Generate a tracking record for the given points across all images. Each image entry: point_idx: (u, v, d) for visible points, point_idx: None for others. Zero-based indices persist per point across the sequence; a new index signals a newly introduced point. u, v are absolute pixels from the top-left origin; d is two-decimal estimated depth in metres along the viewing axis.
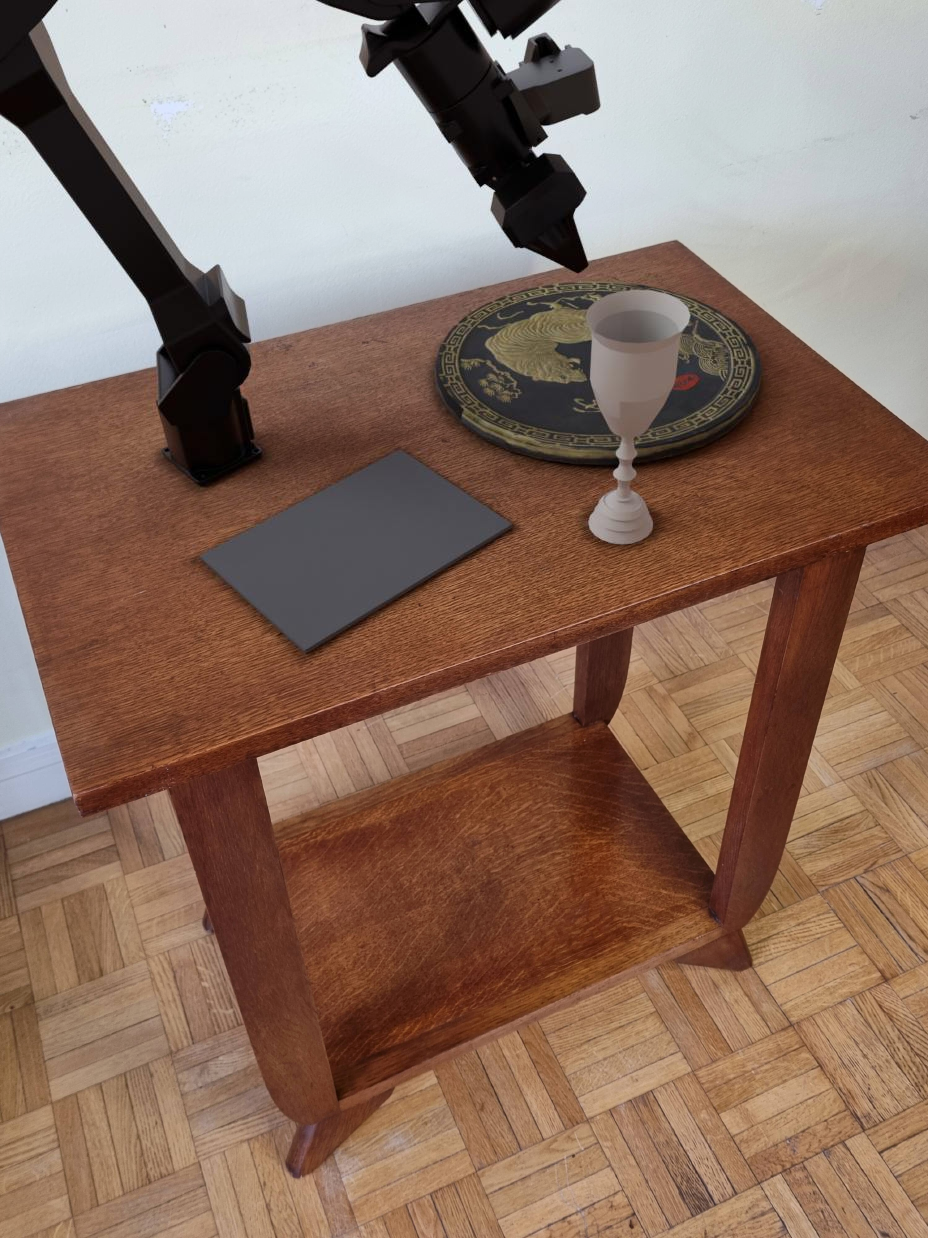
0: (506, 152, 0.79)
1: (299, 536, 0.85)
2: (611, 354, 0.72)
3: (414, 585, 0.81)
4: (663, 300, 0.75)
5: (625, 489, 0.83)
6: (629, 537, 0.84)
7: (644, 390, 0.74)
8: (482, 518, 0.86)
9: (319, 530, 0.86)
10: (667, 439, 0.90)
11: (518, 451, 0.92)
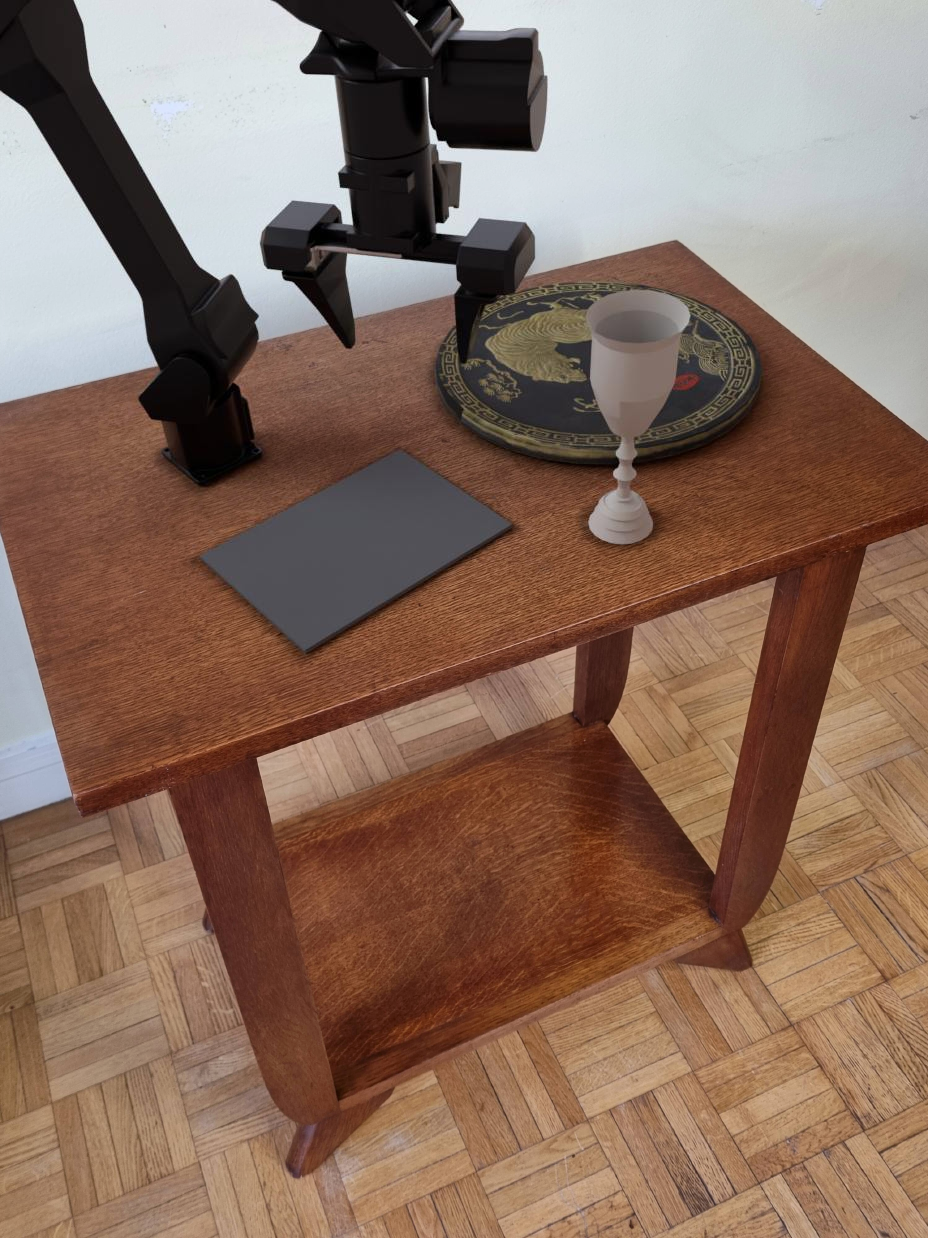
0: (433, 220, 0.74)
1: (299, 536, 0.85)
2: (611, 354, 0.72)
3: (414, 585, 0.81)
4: (663, 300, 0.75)
5: (625, 489, 0.83)
6: (629, 537, 0.84)
7: (644, 390, 0.74)
8: (482, 518, 0.86)
9: (319, 530, 0.86)
10: (667, 438, 0.90)
11: (518, 451, 0.92)
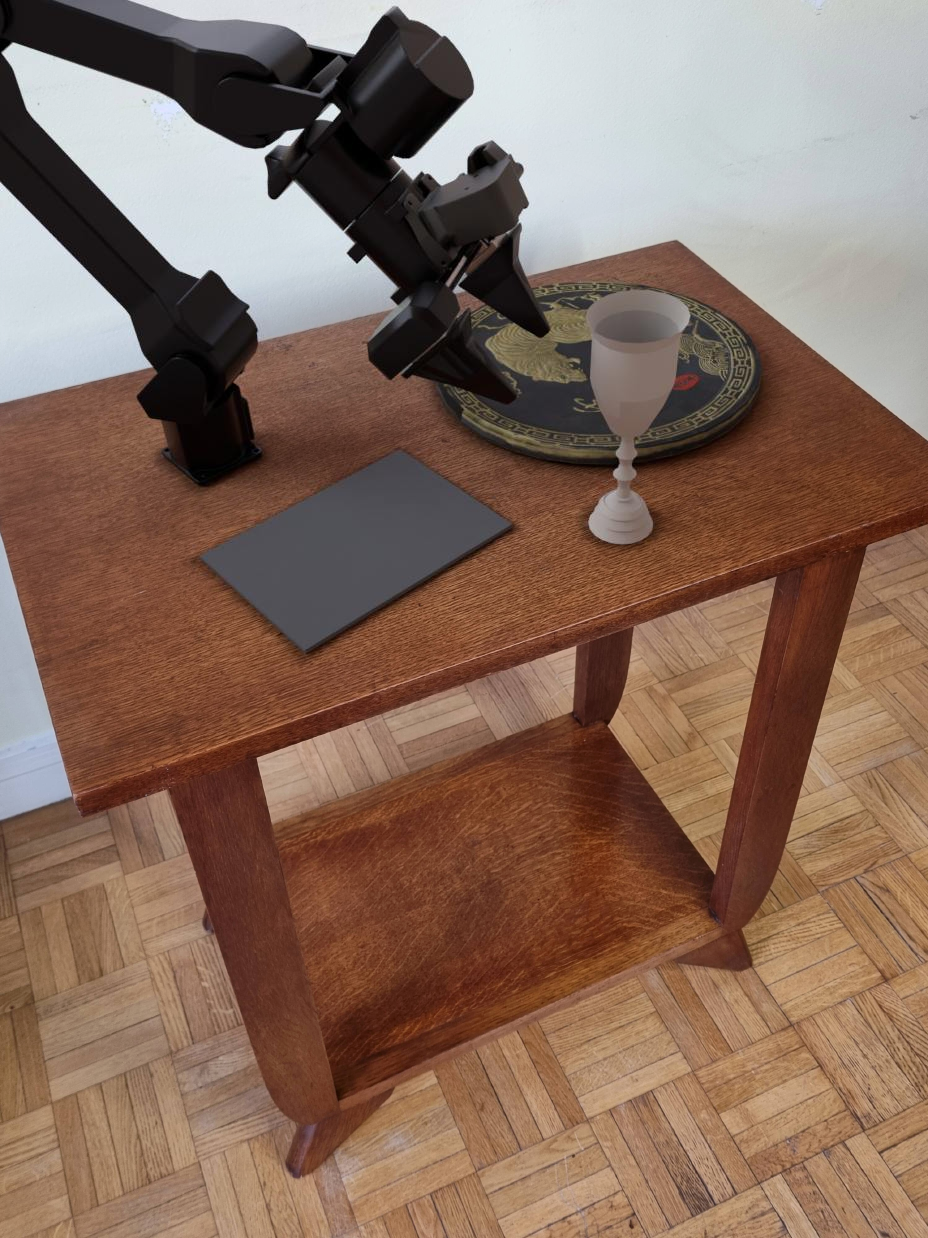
0: (413, 274, 0.73)
1: (299, 536, 0.85)
2: (611, 354, 0.72)
3: (414, 585, 0.81)
4: (663, 300, 0.75)
5: (625, 489, 0.83)
6: (629, 537, 0.84)
7: (644, 390, 0.74)
8: (482, 518, 0.86)
9: (319, 530, 0.86)
10: (667, 438, 0.90)
11: (518, 451, 0.92)
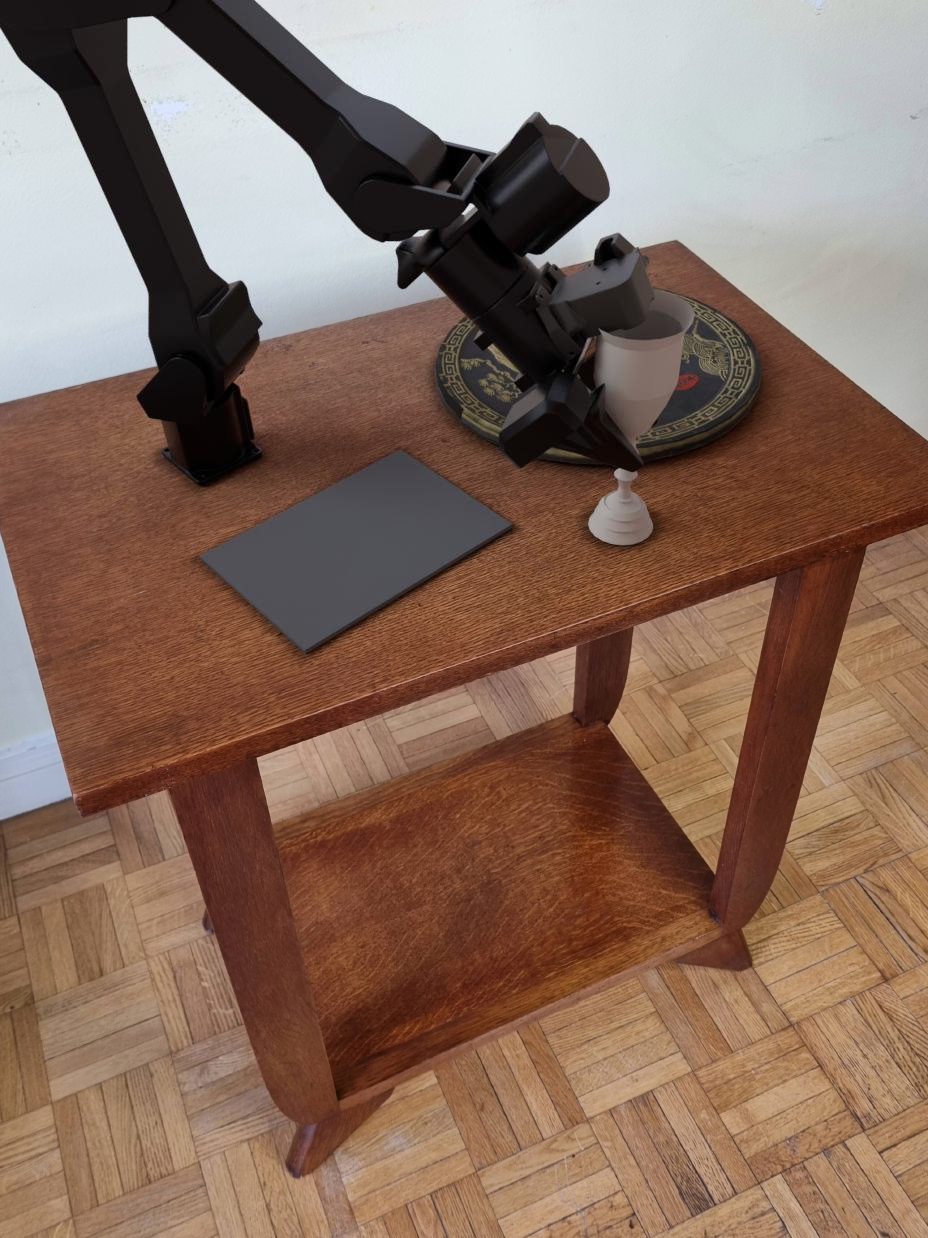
0: (540, 363, 0.75)
1: (299, 536, 0.85)
2: (616, 352, 0.72)
3: (414, 585, 0.81)
4: (666, 299, 0.75)
5: (626, 490, 0.83)
6: (630, 538, 0.84)
7: (649, 388, 0.74)
8: (482, 518, 0.86)
9: (319, 530, 0.86)
10: (667, 438, 0.90)
11: None
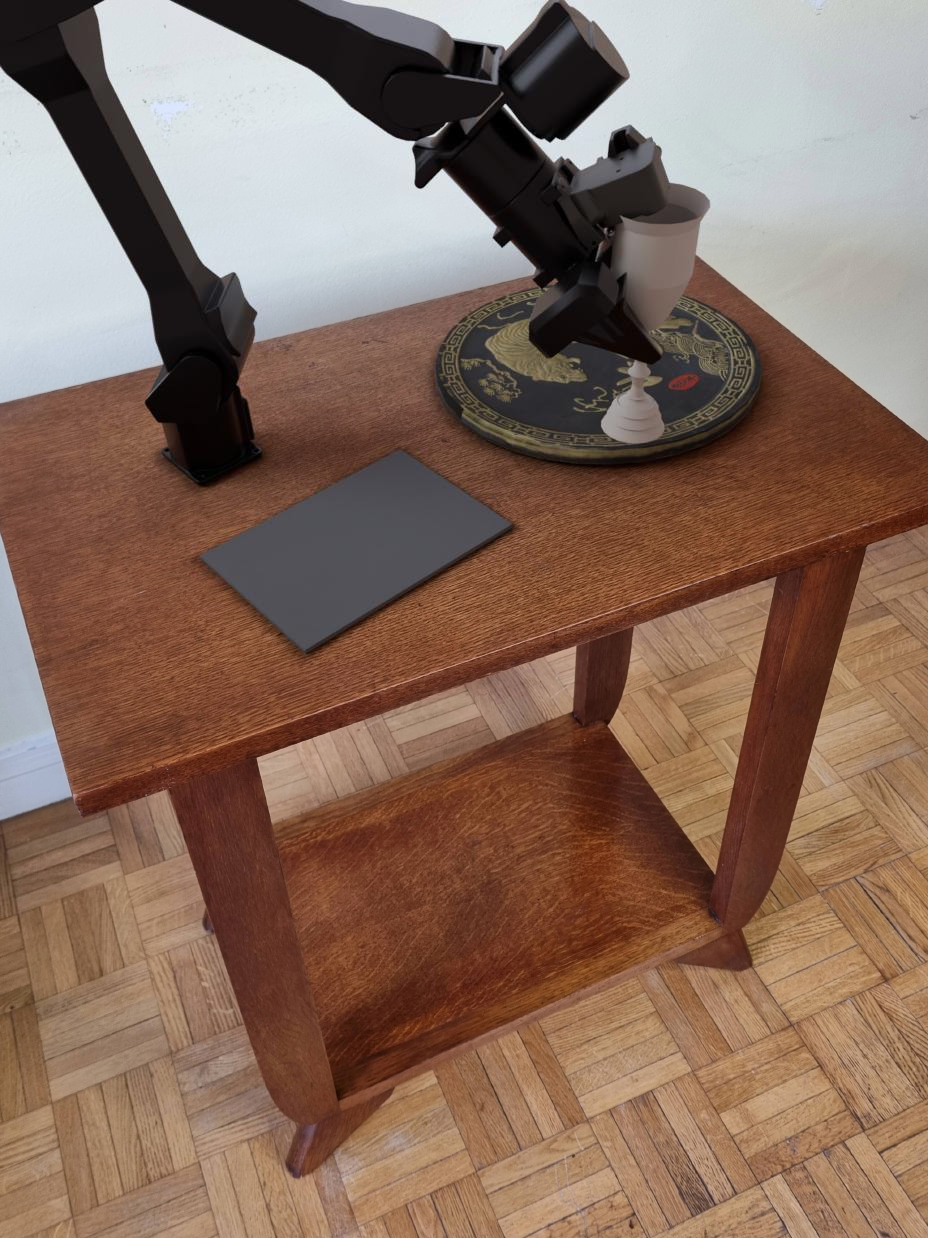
0: (561, 256, 0.76)
1: (299, 536, 0.85)
2: (638, 239, 0.74)
3: (414, 585, 0.81)
4: (677, 190, 0.77)
5: (639, 388, 0.84)
6: (645, 436, 0.85)
7: (669, 275, 0.75)
8: (482, 518, 0.86)
9: (319, 530, 0.86)
10: (667, 438, 0.90)
11: (518, 451, 0.92)
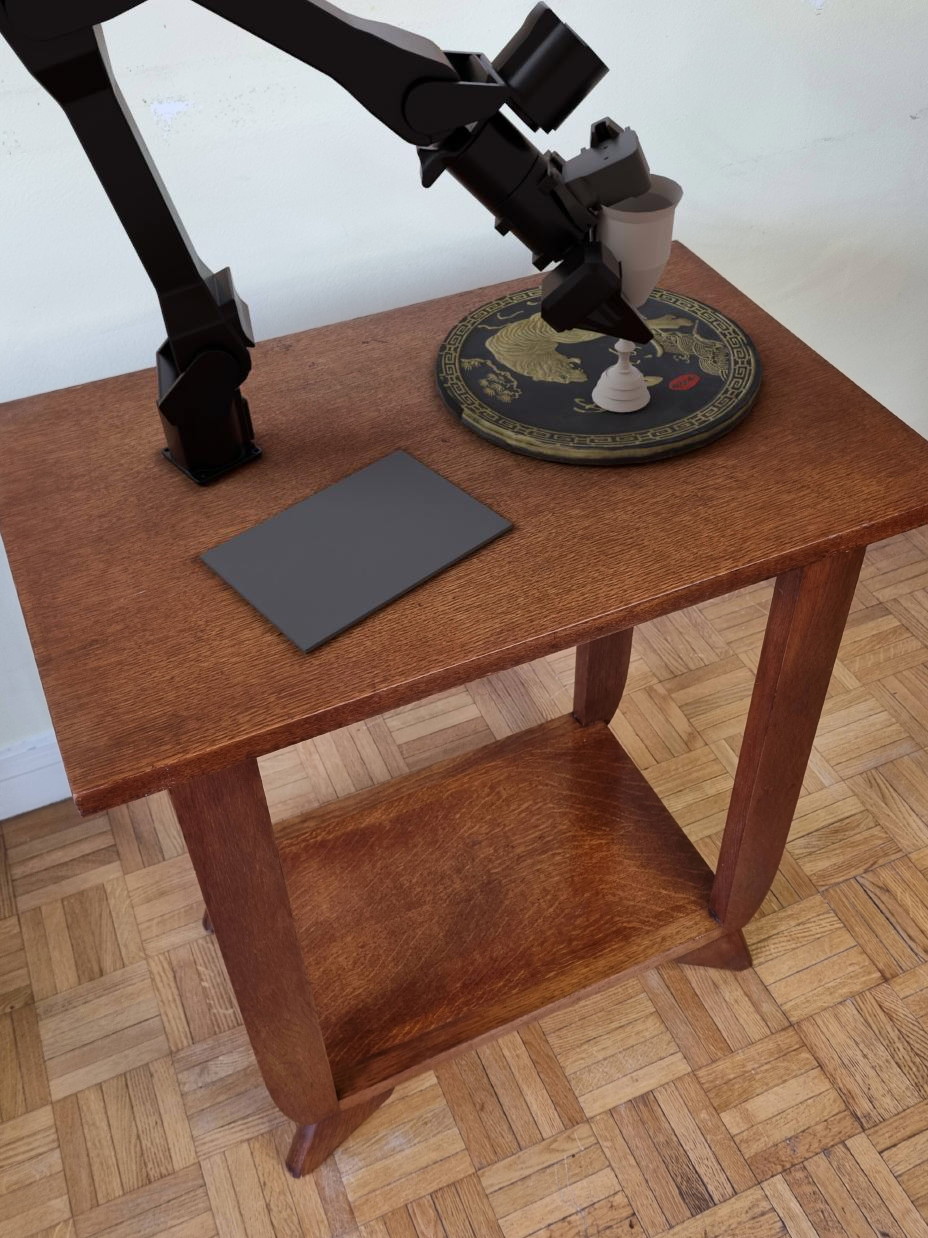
0: (558, 239, 0.83)
1: (299, 536, 0.85)
2: (624, 227, 0.82)
3: (414, 585, 0.81)
4: None
5: (626, 361, 0.92)
6: (635, 404, 0.93)
7: (652, 257, 0.83)
8: (482, 518, 0.86)
9: (319, 530, 0.86)
10: (667, 439, 0.90)
11: (518, 451, 0.92)
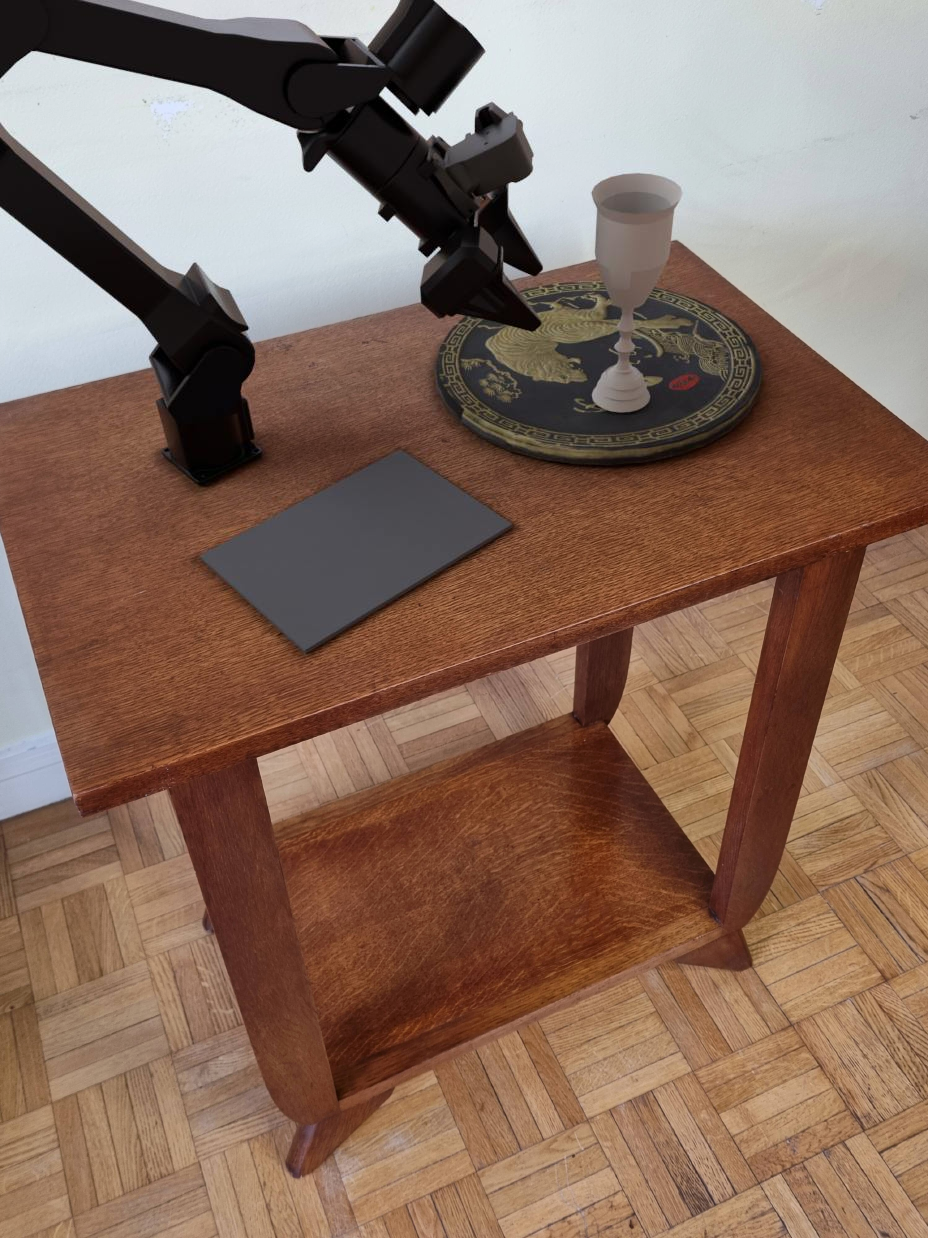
0: (442, 225, 0.83)
1: (299, 536, 0.85)
2: (623, 228, 0.82)
3: (414, 585, 0.81)
4: (648, 179, 0.85)
5: (626, 361, 0.92)
6: (635, 404, 0.93)
7: (652, 258, 0.83)
8: (482, 518, 0.86)
9: (319, 530, 0.86)
10: (667, 439, 0.90)
11: (518, 451, 0.92)
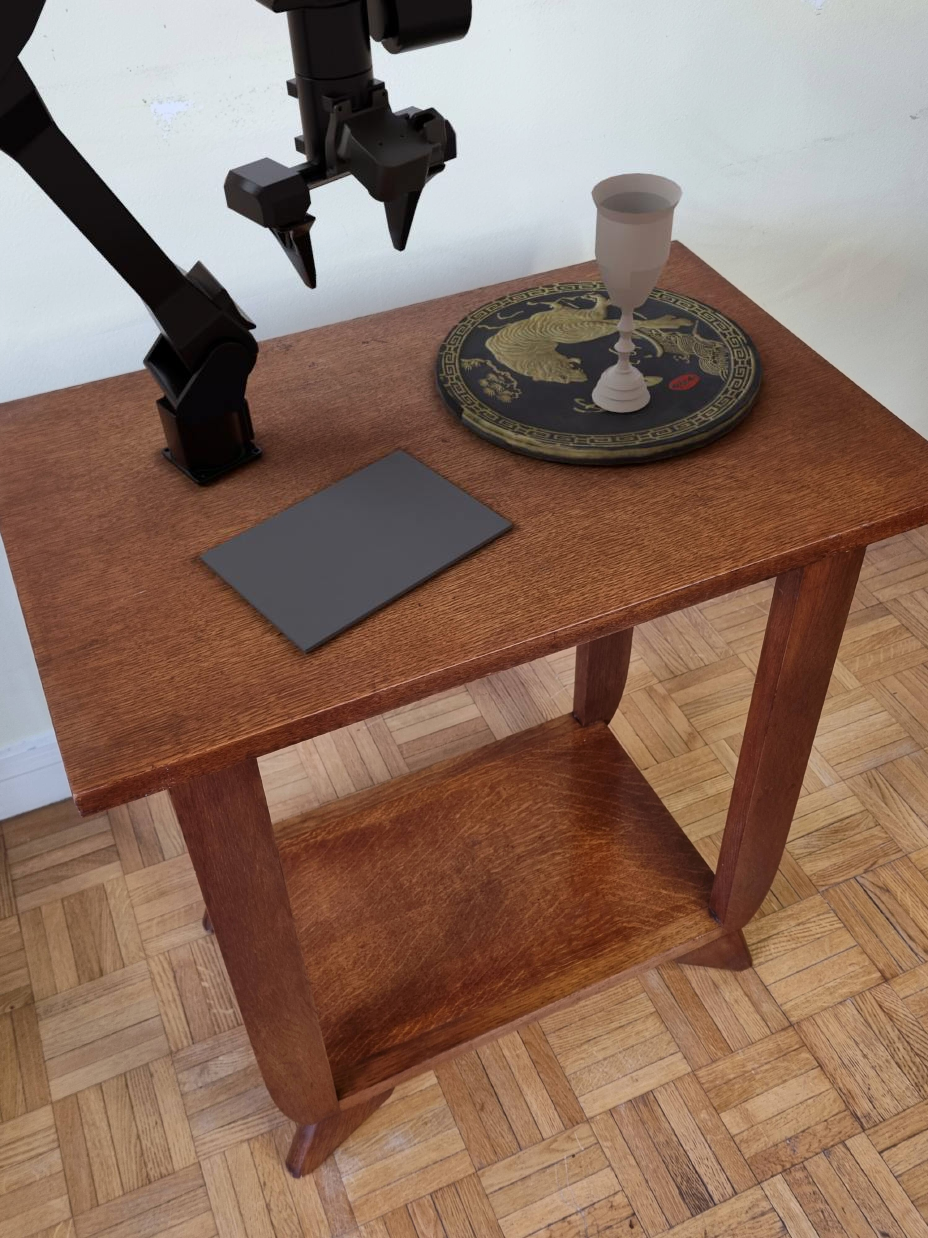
0: (311, 148, 0.81)
1: (299, 536, 0.85)
2: (623, 228, 0.82)
3: (414, 585, 0.81)
4: (648, 180, 0.85)
5: (626, 361, 0.92)
6: (635, 404, 0.93)
7: (652, 258, 0.83)
8: (482, 518, 0.86)
9: (319, 530, 0.86)
10: (667, 439, 0.90)
11: (518, 451, 0.92)
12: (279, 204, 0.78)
